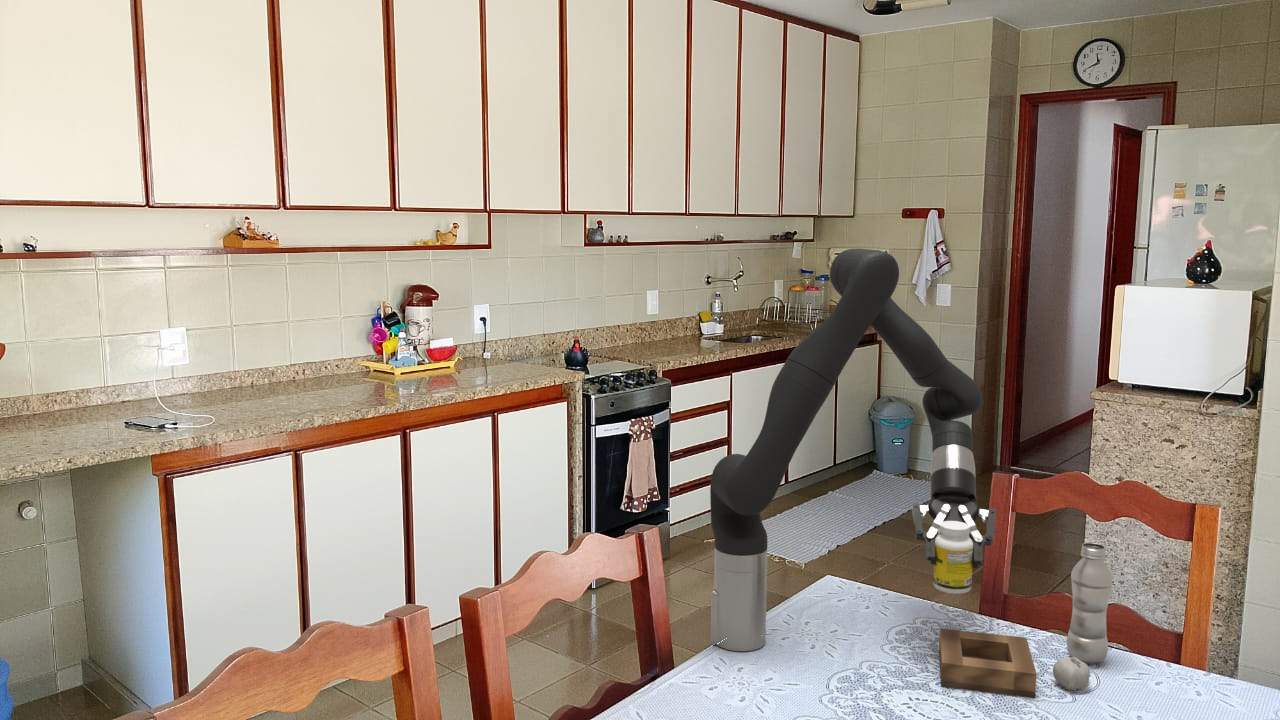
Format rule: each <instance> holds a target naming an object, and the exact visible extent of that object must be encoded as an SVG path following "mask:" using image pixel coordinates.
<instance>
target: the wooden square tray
mask: <svg viewBox="0 0 1280 720" xmlns="http://www.w3.org/2000/svg"><path fill="white" fill-rule="evenodd" d="M938 641H939V642H938V657H939V659H938V660H939V672H940V673H939V677H940V687H942V688H948V689H949V688H951V689H958V690H966V691H975V692H980V693H983V692H984V693H990V694H998V695H1005V696H1006V695H1007V696H1015V697H1023V698H1030V699H1036V688H1037V671H1036V667H1035V665H1034V659H1033V656H1032V652H1031V650H1030V649H1031V648H1030V646H1029V642H1028V641H1029V640H1028V639H1027V637H1024V636H1015V635H1014V636H1013V635H1007V634H1006V635H1005V634H996V633H990V632H988V633H987V632H980V631H979V632H977V631H969V630H962V629H961V630H960V629H950V628H943V627H941V628H939V640H938Z"/></svg>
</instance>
